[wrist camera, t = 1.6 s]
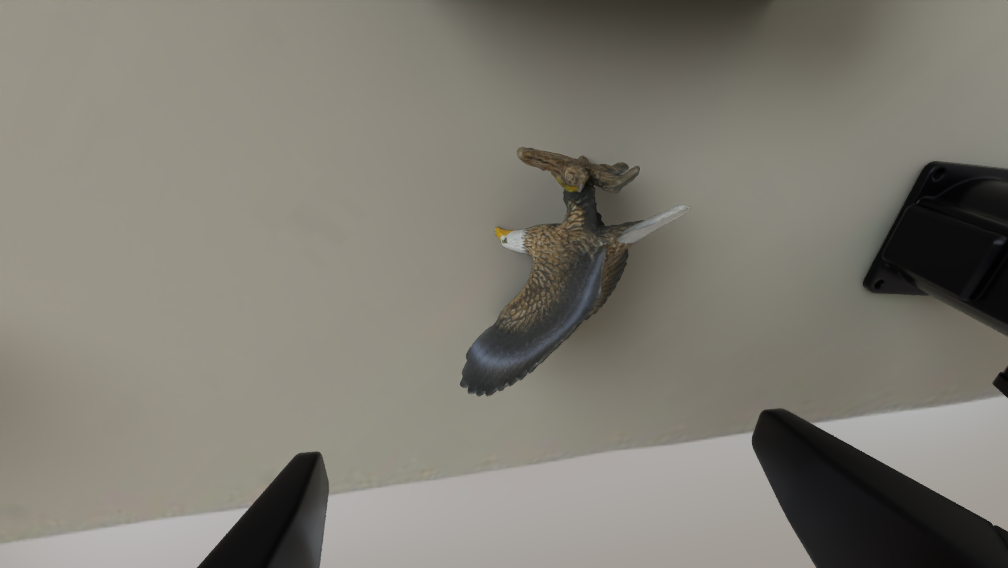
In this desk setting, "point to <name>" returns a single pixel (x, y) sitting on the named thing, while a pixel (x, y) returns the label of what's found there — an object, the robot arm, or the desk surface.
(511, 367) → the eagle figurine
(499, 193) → the desk surface
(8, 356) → the desk surface
